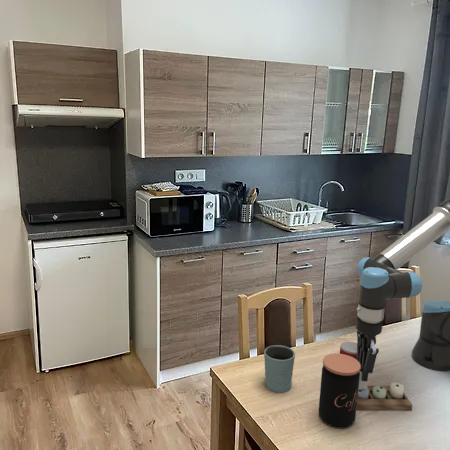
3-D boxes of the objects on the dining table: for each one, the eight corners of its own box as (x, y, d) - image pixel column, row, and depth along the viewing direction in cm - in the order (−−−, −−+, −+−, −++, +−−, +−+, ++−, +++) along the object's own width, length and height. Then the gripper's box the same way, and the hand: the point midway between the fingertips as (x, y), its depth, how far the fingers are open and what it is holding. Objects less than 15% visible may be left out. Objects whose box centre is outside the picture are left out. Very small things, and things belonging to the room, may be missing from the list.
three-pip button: (365, 394, 141) (366, 384, 141) (369, 402, 137) (370, 392, 137) (353, 394, 141) (354, 384, 140) (357, 401, 137) (358, 392, 137)
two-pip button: (382, 394, 142) (383, 385, 141) (387, 402, 138) (388, 392, 137) (370, 394, 141) (371, 385, 141) (374, 402, 138) (375, 392, 137)
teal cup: (281, 397, 140) (283, 363, 137) (256, 384, 146) (257, 352, 144) (298, 384, 147) (301, 352, 144) (274, 372, 154) (276, 341, 151)
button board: (398, 391, 145) (399, 385, 144) (411, 410, 135) (412, 404, 135) (347, 390, 144) (347, 385, 144) (356, 410, 135) (357, 404, 134)
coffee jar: (332, 433, 124) (338, 376, 120) (311, 410, 134) (315, 357, 130) (362, 424, 128) (369, 368, 124) (339, 402, 138) (344, 350, 134)
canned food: (362, 383, 149) (365, 353, 146) (338, 380, 150) (341, 350, 148) (360, 371, 156) (363, 343, 154) (337, 368, 158) (339, 340, 155)
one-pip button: (399, 391, 141) (401, 381, 141) (405, 398, 137) (406, 389, 137) (387, 391, 141) (388, 381, 140) (392, 398, 137) (393, 388, 137)
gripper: (351, 309, 139) (344, 376, 145) (364, 327, 127) (356, 400, 132) (374, 309, 140) (366, 376, 145) (390, 328, 127) (381, 400, 132)
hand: (361, 387), depth 138 cm, fingers closed
